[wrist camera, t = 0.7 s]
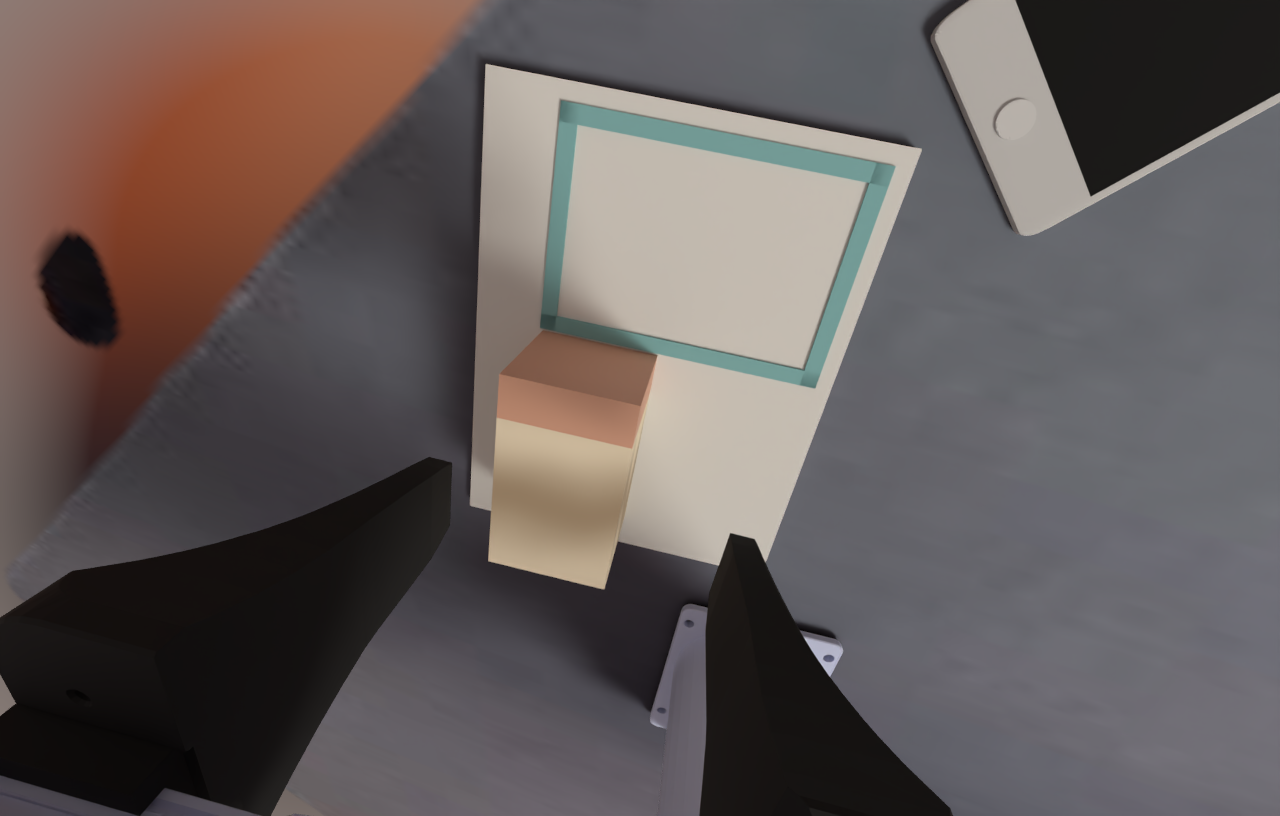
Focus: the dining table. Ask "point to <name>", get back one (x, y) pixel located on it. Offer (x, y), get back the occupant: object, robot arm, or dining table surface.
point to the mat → (680, 283)
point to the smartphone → (1101, 90)
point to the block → (566, 455)
